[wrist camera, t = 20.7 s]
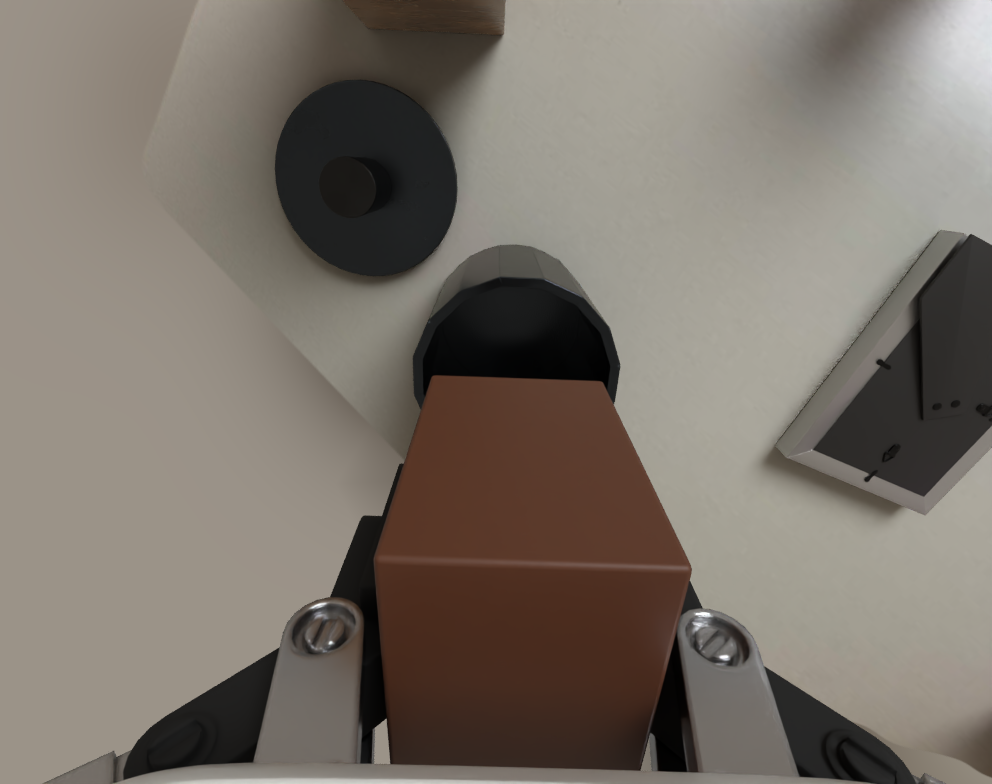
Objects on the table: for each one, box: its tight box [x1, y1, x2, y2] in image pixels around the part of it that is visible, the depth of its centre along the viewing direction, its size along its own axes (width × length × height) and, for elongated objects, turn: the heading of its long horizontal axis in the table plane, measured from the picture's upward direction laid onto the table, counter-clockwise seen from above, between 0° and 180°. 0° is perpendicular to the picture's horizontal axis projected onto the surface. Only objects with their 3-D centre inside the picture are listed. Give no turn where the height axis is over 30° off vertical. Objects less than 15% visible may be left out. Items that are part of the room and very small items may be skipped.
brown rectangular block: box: [373, 375, 692, 771], centre depth 10 cm, size 4×7×6 cm, turn 178°
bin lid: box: [275, 80, 457, 276], centre depth 34 cm, size 13×13×6 cm
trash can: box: [413, 245, 620, 409], centre depth 36 cm, size 12×12×13 cm
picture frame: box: [775, 230, 992, 515], centre depth 42 cm, size 16×3×21 cm
